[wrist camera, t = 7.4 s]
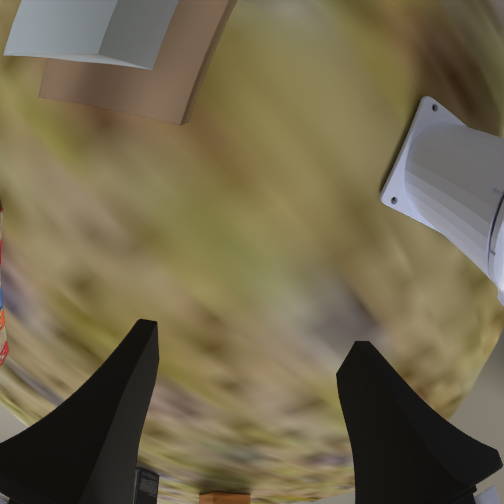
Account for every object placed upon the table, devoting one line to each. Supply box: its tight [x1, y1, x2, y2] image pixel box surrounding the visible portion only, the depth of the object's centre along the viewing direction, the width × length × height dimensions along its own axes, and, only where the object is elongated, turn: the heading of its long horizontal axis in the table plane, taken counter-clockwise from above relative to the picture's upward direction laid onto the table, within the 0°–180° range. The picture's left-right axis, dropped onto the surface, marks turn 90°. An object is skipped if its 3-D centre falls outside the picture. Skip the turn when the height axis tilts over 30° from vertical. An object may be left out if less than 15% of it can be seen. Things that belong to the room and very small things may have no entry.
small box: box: [133, 467, 159, 504], centre depth 40 cm, size 11×6×10 cm, turn 118°
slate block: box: [4, 0, 179, 70], centre depth 7 cm, size 4×4×6 cm
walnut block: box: [38, 0, 237, 126], centre depth 11 cm, size 9×9×3 cm
